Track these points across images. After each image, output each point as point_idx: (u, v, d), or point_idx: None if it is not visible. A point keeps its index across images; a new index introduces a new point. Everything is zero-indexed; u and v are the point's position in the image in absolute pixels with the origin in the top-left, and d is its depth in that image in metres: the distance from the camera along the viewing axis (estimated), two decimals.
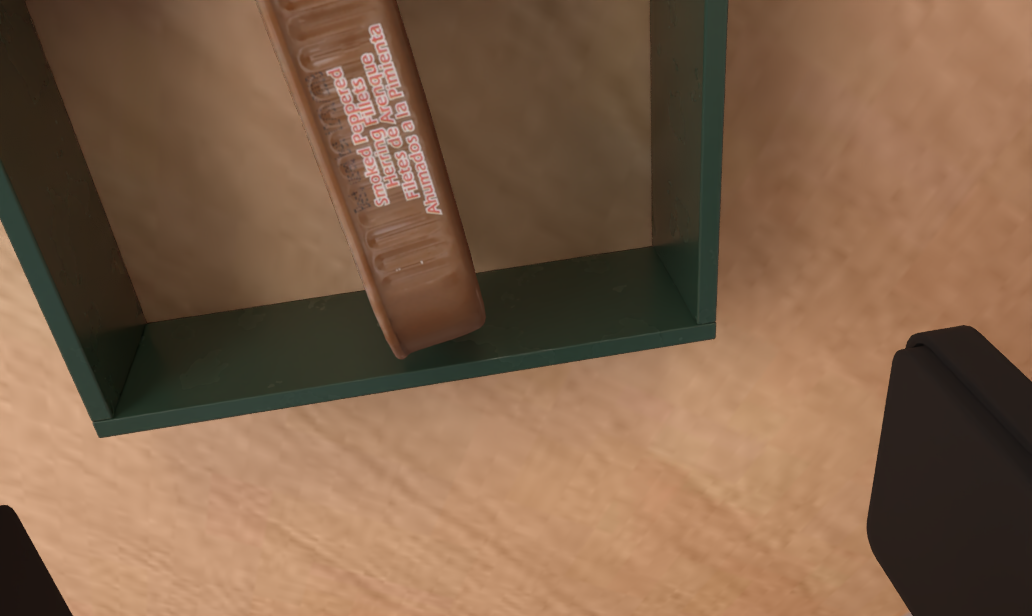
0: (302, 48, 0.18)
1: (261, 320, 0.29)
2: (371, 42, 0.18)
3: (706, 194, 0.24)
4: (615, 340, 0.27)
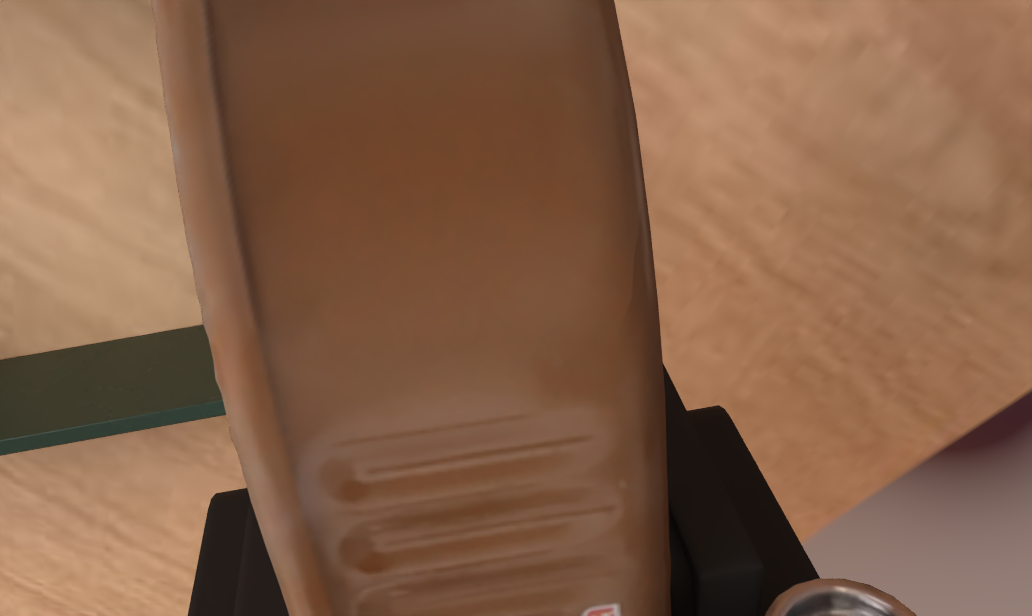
0: None
1: None
2: None
3: None
4: (219, 402, 0.29)
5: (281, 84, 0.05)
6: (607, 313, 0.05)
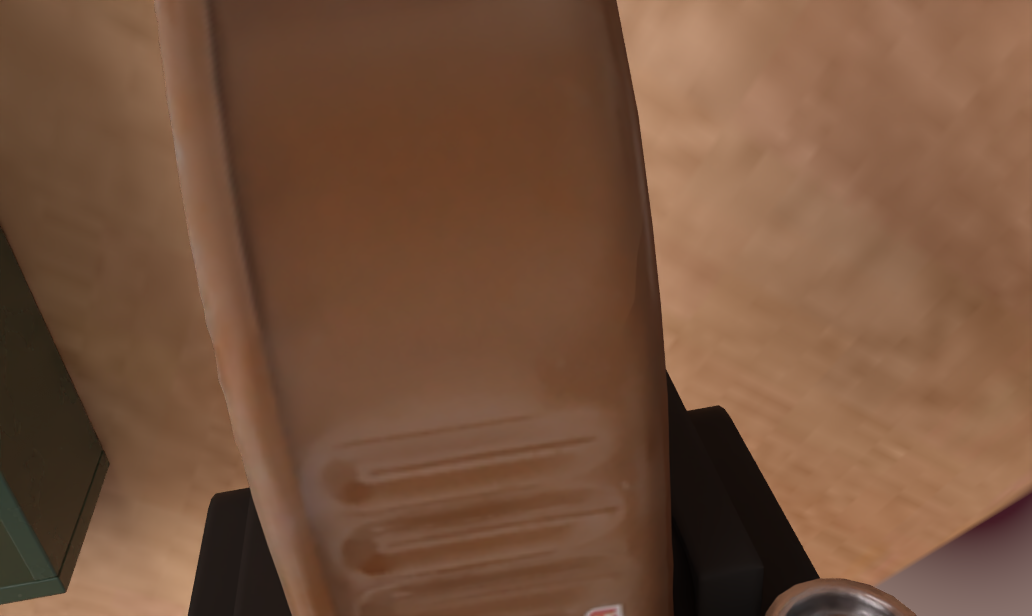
0: None
1: None
2: None
3: None
4: None
5: (285, 85, 0.05)
6: (611, 315, 0.05)
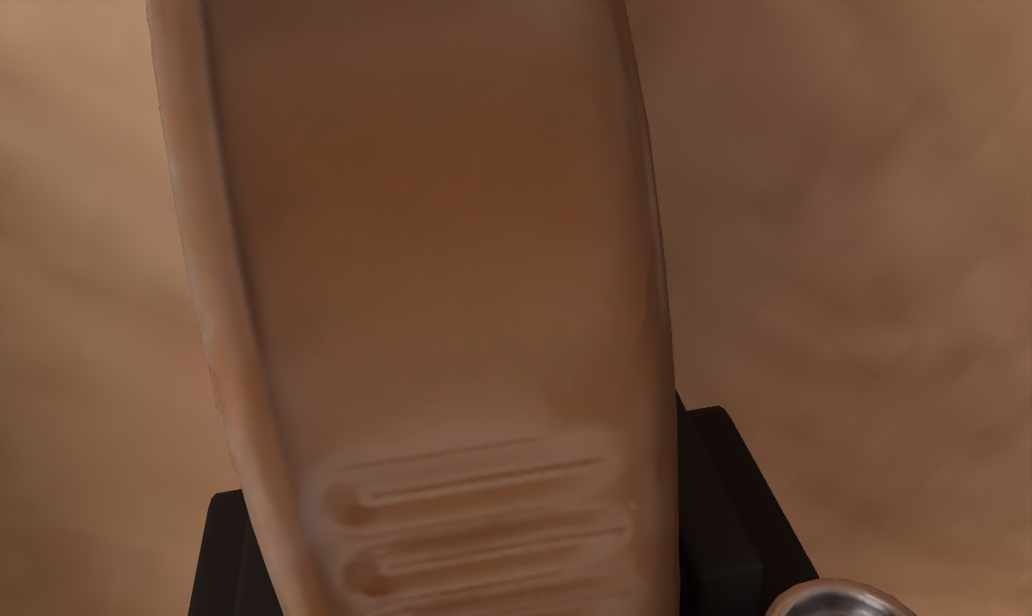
0: None
1: None
2: None
3: None
4: None
5: (283, 99, 0.05)
6: (621, 335, 0.05)
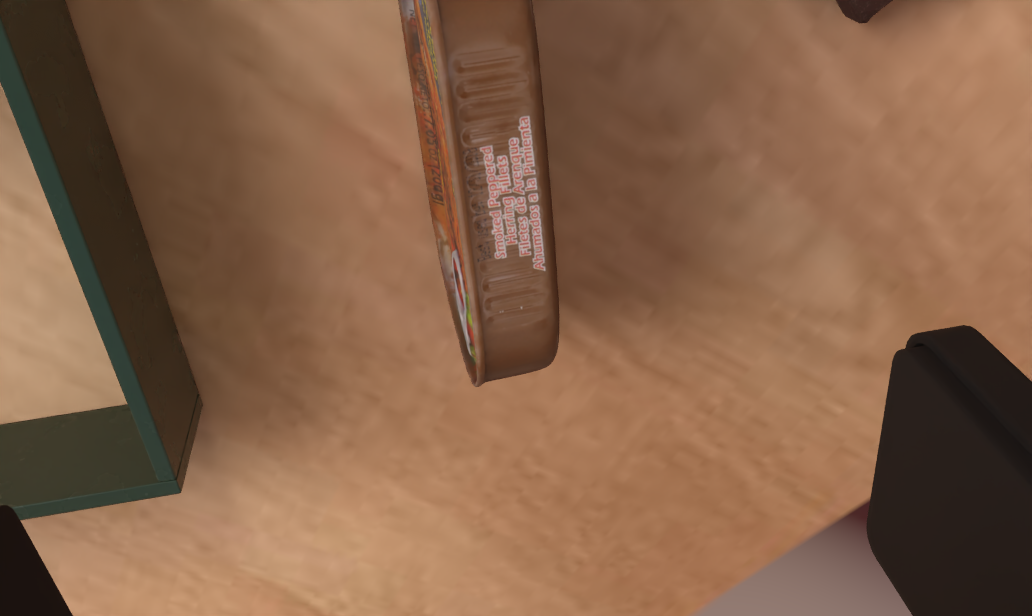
0: (466, 128, 0.22)
1: None
2: (518, 129, 0.22)
3: (122, 377, 0.28)
4: (81, 497, 0.30)
5: None
6: (522, 21, 0.21)
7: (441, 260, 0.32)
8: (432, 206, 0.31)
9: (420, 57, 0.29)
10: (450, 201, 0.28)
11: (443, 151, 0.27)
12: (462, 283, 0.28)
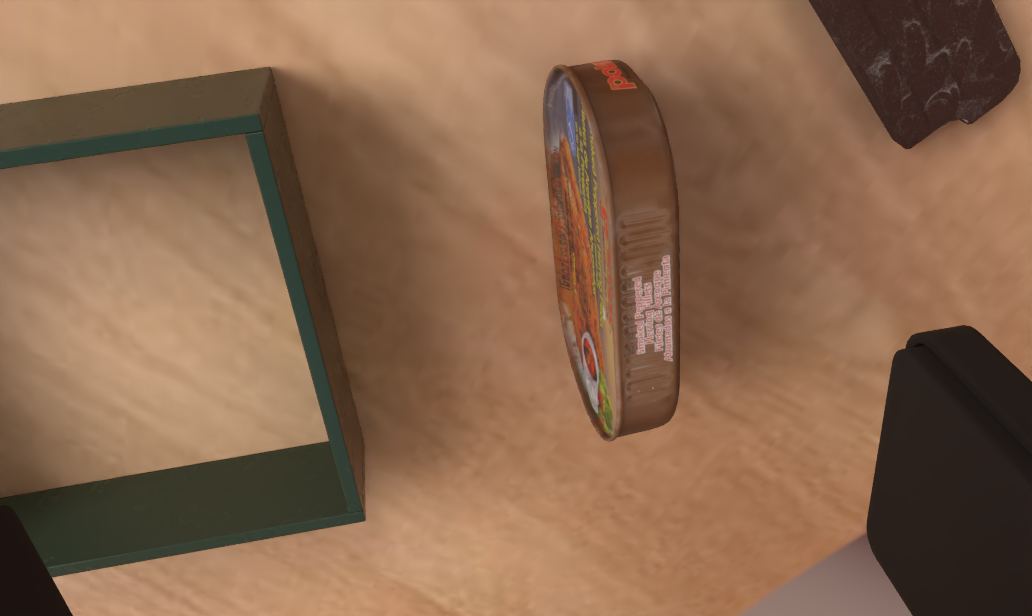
0: (624, 265, 0.30)
1: (55, 501, 0.40)
2: (661, 264, 0.30)
3: (332, 435, 0.36)
4: (289, 525, 0.38)
5: (615, 153, 0.28)
6: (669, 191, 0.29)
7: (565, 332, 0.40)
8: (560, 290, 0.39)
9: (559, 181, 0.36)
10: (586, 297, 0.36)
11: (582, 259, 0.35)
12: (596, 361, 0.36)
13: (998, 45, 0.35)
